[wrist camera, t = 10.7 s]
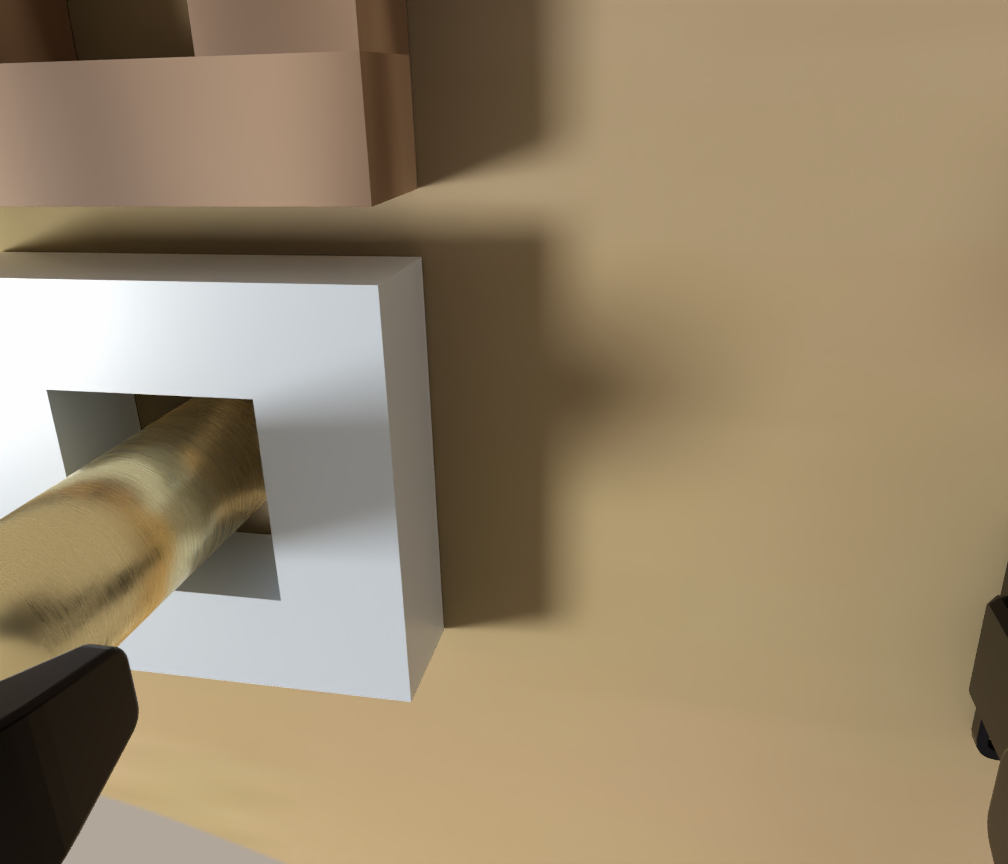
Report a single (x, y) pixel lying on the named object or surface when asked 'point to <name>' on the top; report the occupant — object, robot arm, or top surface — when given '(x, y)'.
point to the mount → (212, 109)
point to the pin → (125, 531)
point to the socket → (282, 440)
